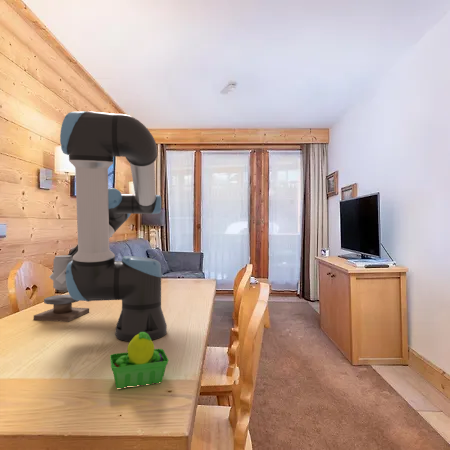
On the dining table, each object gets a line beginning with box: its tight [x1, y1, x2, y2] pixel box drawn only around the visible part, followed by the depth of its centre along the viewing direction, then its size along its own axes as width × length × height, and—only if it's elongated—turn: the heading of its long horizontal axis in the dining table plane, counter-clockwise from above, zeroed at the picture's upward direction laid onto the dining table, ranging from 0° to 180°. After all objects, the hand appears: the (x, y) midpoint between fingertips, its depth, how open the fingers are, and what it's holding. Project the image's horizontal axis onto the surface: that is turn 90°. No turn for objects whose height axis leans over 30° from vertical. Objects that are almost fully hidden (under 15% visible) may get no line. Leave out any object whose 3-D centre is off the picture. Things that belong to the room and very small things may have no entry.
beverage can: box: [52, 254, 73, 291], centre depth 120 cm, size 6×6×12 cm
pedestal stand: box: [33, 294, 90, 323], centre depth 120 cm, size 13×13×6 cm
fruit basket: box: [109, 332, 169, 389], centre depth 69 cm, size 11×9×11 cm
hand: (55, 280), depth 118 cm, fingers closed on beverage can, 6 cm apart
